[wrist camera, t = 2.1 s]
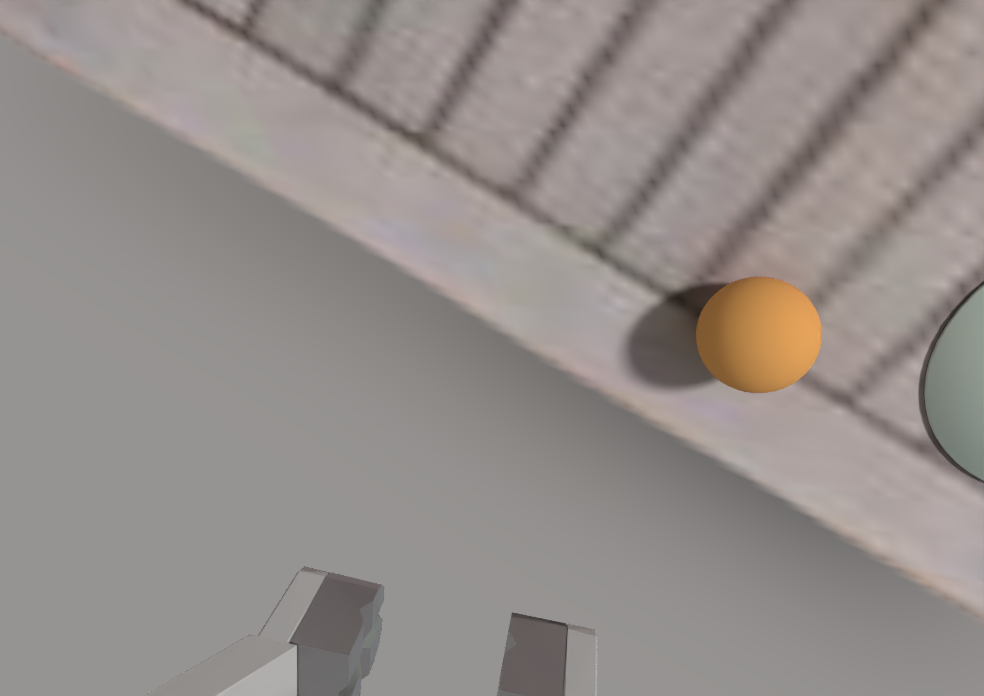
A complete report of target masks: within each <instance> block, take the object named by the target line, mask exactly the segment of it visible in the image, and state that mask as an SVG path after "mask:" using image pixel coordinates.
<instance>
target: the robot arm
mask: <svg viewBox="0 0 984 696" xmlns="http://www.w3.org/2000/svg"><path fill="white" fill-rule="evenodd" d="M383 600H384V586H382V585H380V584H376V583H372V582H368V581H364V580H360V579H356V578H352V577H347V576H344V575H340V574H335V573H329V572H325V571H321V570H316V569H313V568H309V567H304V568H302V569H301V570H300V571H299V572H298V573H297V574H296V576H295V577H294V579H293V580H292V582H291V584H290V585H289V587H288V589H287V590H286V592H285V593H284V595H283V596H282V598H281V600H280V601H279V603H278V605H277V606H276V608H275V609H274V611H273V613H272V614H271V616H270V617H269V619H268V621H267V622H266V624H265V625H264V627H263V629H262V630H261V632H260V633H259V635H258V636H255V635H248V636H246V637H245V638H243V639H241V640H239V641H238V642H236V643H234V644H232V645H231V646H229V647H227V648H225V649H224V650H222V651H220V652H219V653H217V654H215V655H213V656H212V657H210V658H208V659H206V660H205V661H203V662H201V663H200V664H198V665H196V666H194V667H192V668H191V669H189V670H187V671H186V672H184V673H182V674H180V675H179V676H177V677H175V678H173V679H172V680H170V681H168V682H166V683H165V684H163V685H161V686H159V687H158V688H156V689H154V690H153V691H151V692H149V693H147V694H146V695H144V696H360V690H361V680H362V679H363V678H365V677H366V676H368V675H369V673H370V670H371V668H372V665H373V662H374V659H375V656H376V652H377V649H378V645H379V641H380V635H381V630H382V618H381V617H380V615H379V614H378V613H379V611H380V608H381V606H382V603H383ZM497 696H597V633H596V631H595V629H590V628H585V627H580V626H575V625H571V624H567V625H566V623H561V622H556V621H551V620H546V619H542V618H536V617H532V616H527V615H522V614H517V613H512V614H511V620H510V625H509V630H508V636H507V642H506V647H505V653H504V658H503V664H502V669H501V675H500V681H499V687H498V693H497Z"/></svg>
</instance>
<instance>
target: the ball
mask: <svg viewBox="0 0 984 696" xmlns="http://www.w3.org/2000/svg"><path fill="white" fill-rule="evenodd" d="M821 340H822V329H821V323H820V319H819V316H818V313H817V311H816V309H815V307H814V306H813V304H812V303H811V301H810V300H809V299H808V298H807V297H806V296H805V295H804V294H803V293H802V292H801V291H800V290H798V289H797V288H796V287H794V286H792V285H791V284H789V283H786V282H784V281H781V280H778V279H774V278H769V277H750V278H745V279H741V280H738V281H735V282H732V283H730V284H728V285H726V286H725V287H723V288H722V289H720V290H719V291H718V292H716V293H715V294H714V295H713V296H712V297H711V298H710V299H709V301H708V302H707V303H706V305H705V306H704V308H703V310H702V311H701V314H700V316H699V319H698V323H697V328H696V343H697V348H698V352H699V355H700V357H701V359H702V361H703V363H704V365H705V366H706V367H707V369H708V370H709V371H710V372H711V373H712V374H713V375H714V376H715V377H716V378H717V379H718V380H720V381H721V382H722V383H724V384H726V385H728V386H730V387H732V388H734V389H737V390H740V391H744V392H750V393H767V392H773V391H777V390H780V389H783V388H785V387H788V386H789V385H791V384H793V383H795V382H796V381H797V380H799V379H800V378H801V377H802V376H804V375H805V374H806V372H807V371H808V370H809V369H810V368H811V366H812V365H813V363H814V362H815V360H816V358H817V356H818V353H819V350H820V346H821Z"/></svg>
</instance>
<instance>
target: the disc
mask: <svg viewBox="0 0 984 696" xmlns="http://www.w3.org/2000/svg"><path fill="white" fill-rule="evenodd" d="M924 397H925V408H926V412H927V416H928V420H929V423H930V426H931V428H932V430H933V433H934V435H935V437H936V438H937V440H938V441H939V443H940V444H941V446H942V447H943V449H944V450H945V451H946V452H947V453H948V454H949V455H950V456H951V457H952V458H953V460H954V461H955V462H956V463H958V464H959V465H960V466H961V467H963V468H964V469H965V470H966V471H968V472H969V473H971V474H973V475H974V476H976V477H978V478H979V479H981V480H983V481H984V284H983V285H982V286H981V287H979V288H978V289H977V290H976V291H975V292H974V293H973V294H972V295H971V296H970V297H969V298H968V299H967V300H966V301H965V302H964V303H963V304H962V305H961V306H960V307H959V309H958V310H957V311H956V313H955V314H954V315H953V317H952V318H951V319H950V321H949V322H948V323H947V325H946V326H945V328H944V330H943V332H942V333H941V335H940V337H939V339H938V340H937V342H936V345H935V347H934V350H933V352H932V354H931V357H930V360H929V364H928V368H927V372H926V377H925V387H924Z"/></svg>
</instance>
